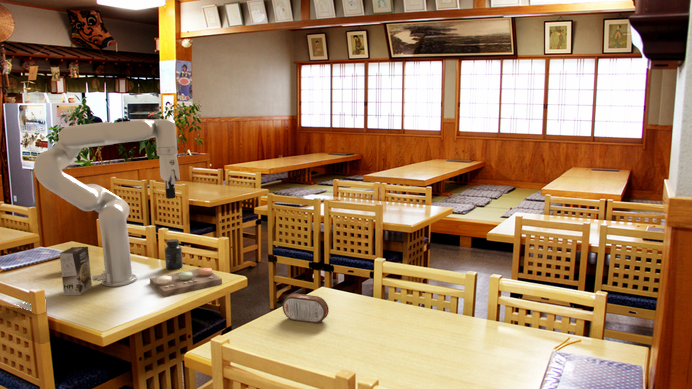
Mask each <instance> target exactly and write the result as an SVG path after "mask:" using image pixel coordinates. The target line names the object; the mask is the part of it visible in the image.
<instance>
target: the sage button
mask: <svg viewBox="0 0 692 389" xmlns="http://www.w3.org/2000/svg"><path fill="white" fill-rule="evenodd" d="M178 273H179V274H178V279H179V280H182V281H184V280H189V279H192V278H193V277H192V272H185V271H181V273H180V272H178Z"/></svg>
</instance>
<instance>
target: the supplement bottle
mask: <svg viewBox="0 0 692 389" xmlns="http://www.w3.org/2000/svg"><path fill="white" fill-rule="evenodd" d="M179 244H180V243H179V239H177V238H174V239H173V238H171V239H166V247H165V248H164V260H165V269H167V271H176V270H177V269H178V270H180V268H181V269H182V268H183V267H184V265H183V263H184V262H183V250H182V247H181V245H179ZM178 270H177V271H178Z"/></svg>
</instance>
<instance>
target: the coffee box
mask: <svg viewBox="0 0 692 389" xmlns="http://www.w3.org/2000/svg"><path fill="white" fill-rule="evenodd" d="M67 249H68V250H66V249H65V250H66V251H63V250H62V251H63V252H62V251H61V252H60V253H59V260H60V270H61V278H62V279H61V280H62V281H61V282H62V291H63V296H81V295H82V294H84V293H86V292H87V291H89V290H90V289H91V288H92V287H93V284H92V273H91V266H90V265H91V264H90V255H89V246H72V247H70V248H67Z"/></svg>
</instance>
